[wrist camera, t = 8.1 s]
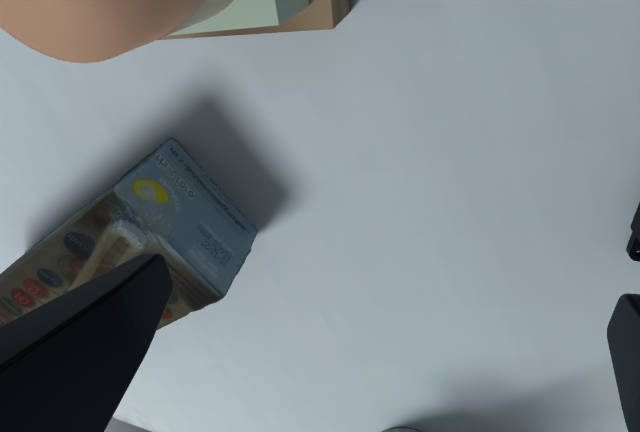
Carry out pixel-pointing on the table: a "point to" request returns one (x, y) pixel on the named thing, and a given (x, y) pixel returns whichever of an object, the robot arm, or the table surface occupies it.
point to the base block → (291, 21)
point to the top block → (249, 15)
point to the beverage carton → (140, 238)
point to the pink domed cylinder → (99, 24)
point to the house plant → (401, 430)
